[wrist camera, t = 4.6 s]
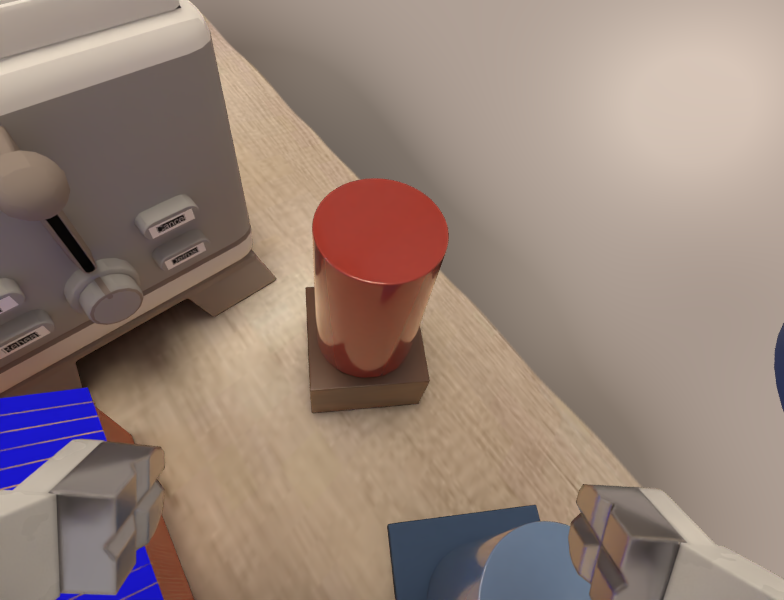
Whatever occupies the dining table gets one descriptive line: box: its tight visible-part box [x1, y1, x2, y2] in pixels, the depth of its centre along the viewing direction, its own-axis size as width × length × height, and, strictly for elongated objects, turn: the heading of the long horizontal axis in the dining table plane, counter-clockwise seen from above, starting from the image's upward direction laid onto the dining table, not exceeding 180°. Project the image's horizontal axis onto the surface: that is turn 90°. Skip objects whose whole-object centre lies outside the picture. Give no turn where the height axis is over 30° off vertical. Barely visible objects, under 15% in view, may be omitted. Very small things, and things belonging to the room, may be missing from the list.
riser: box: [306, 287, 430, 413], centre depth 31 cm, size 7×7×4 cm
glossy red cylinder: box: [312, 178, 449, 378], centre depth 25 cm, size 6×6×10 cm
